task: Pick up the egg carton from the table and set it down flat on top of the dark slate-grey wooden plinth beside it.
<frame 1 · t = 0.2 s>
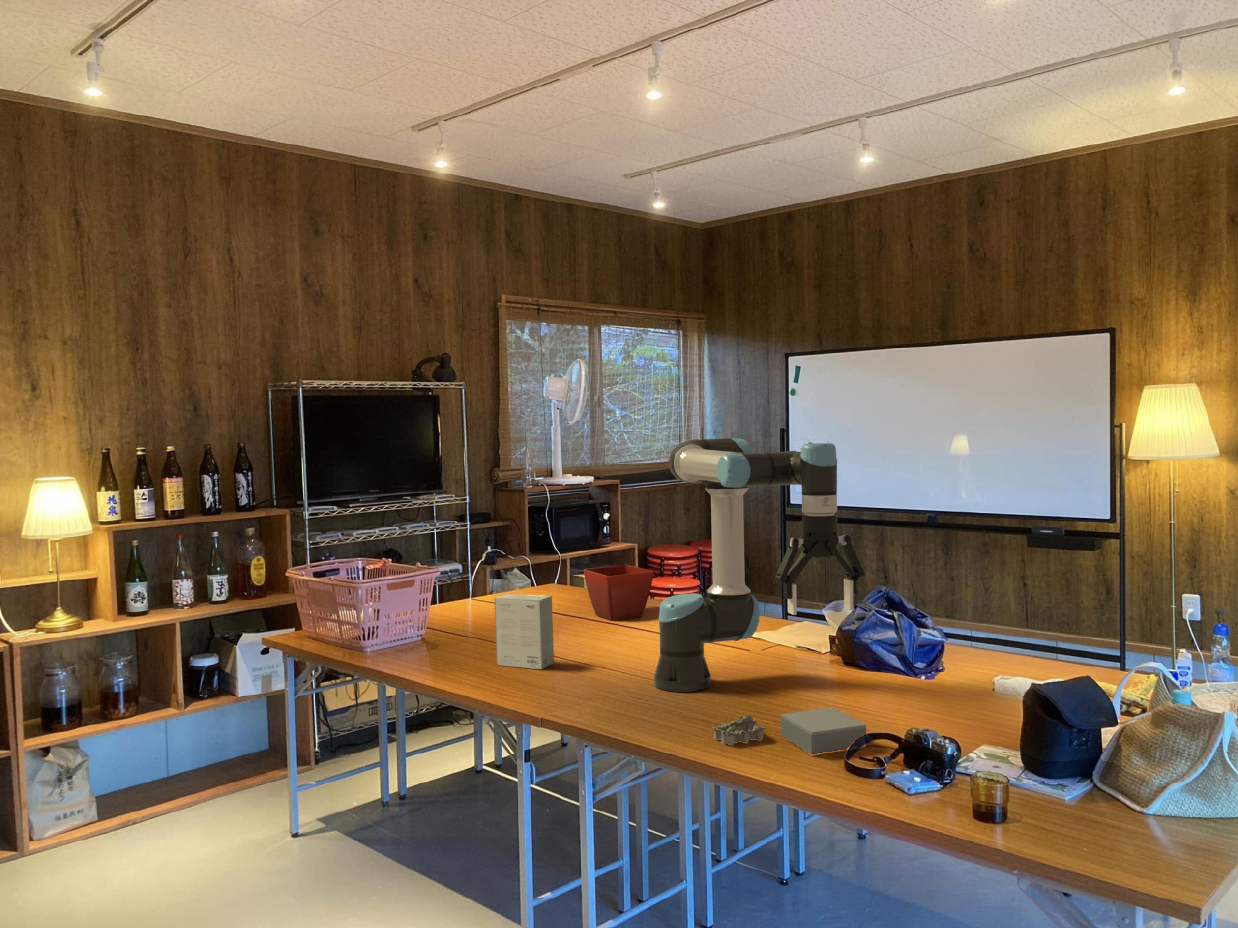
hand: (820, 611, 204), 27 cm above the table, tool pointing down, fingers open, 13 cm apart
plant pot: (619, 616, 338), on the table
plinth: (822, 742, 200), on the table
hard drive box: (525, 665, 271), on the table
egg carton: (739, 740, 204), on the table
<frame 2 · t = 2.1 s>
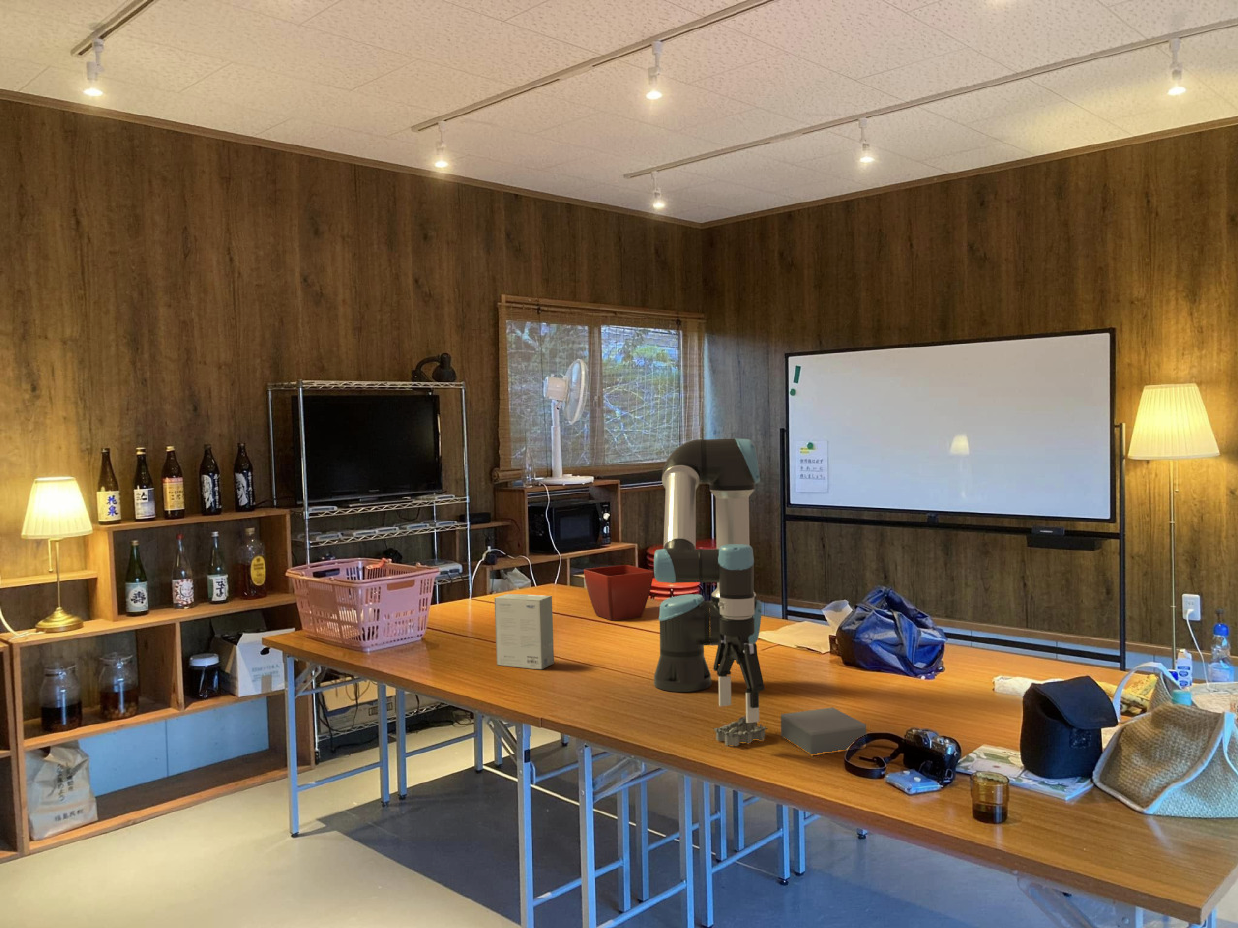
hand: (738, 713, 203), 6 cm above the table, tool pointing down, fingers open, 13 cm apart
nothing on the table moved.
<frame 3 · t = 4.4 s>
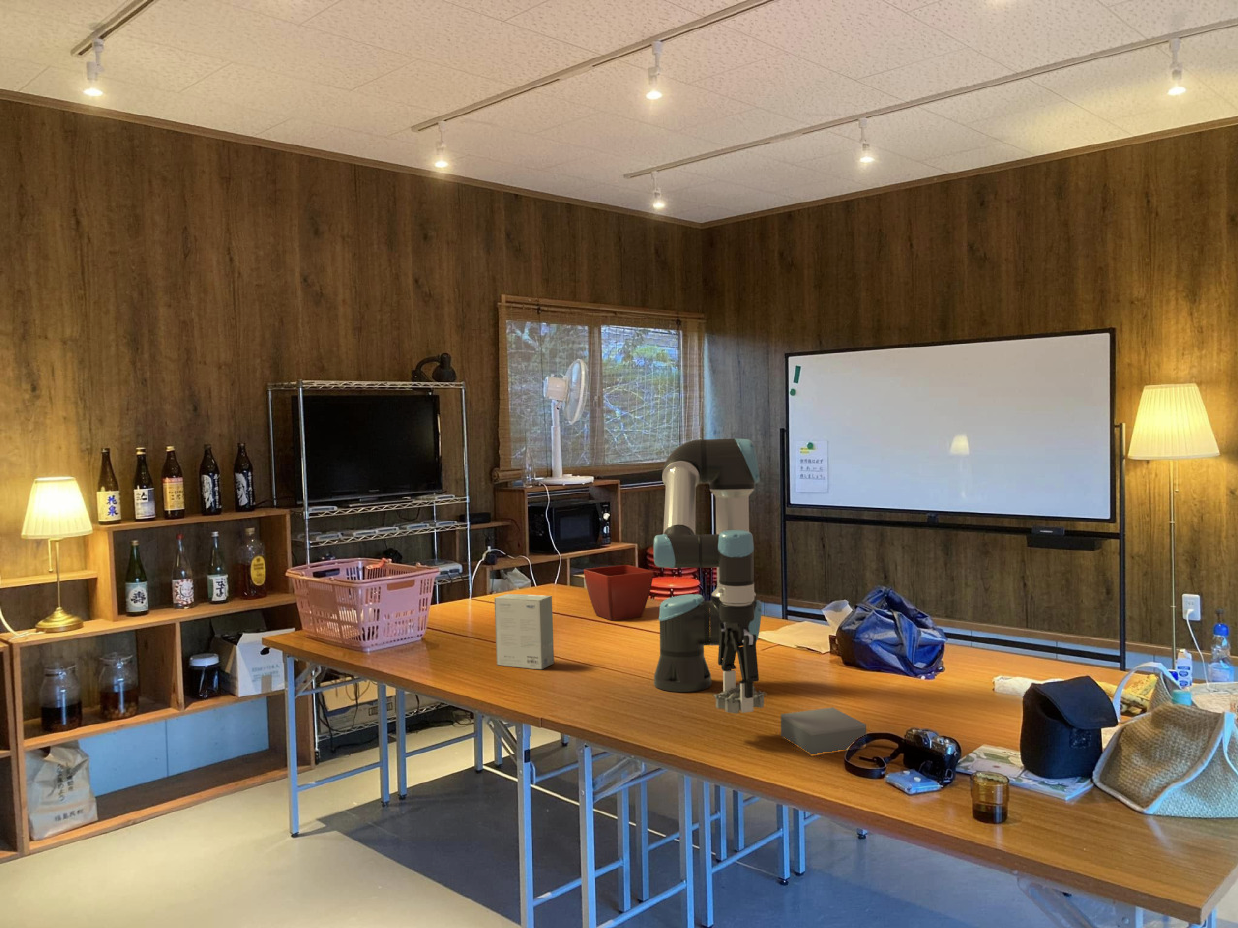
hand: (738, 705, 204), 7 cm above the table, tool pointing down, fingers closed on egg carton, 8 cm apart
egg carton: (740, 707, 204), point 7 cm above the table, touching gripper
everything else where it was.
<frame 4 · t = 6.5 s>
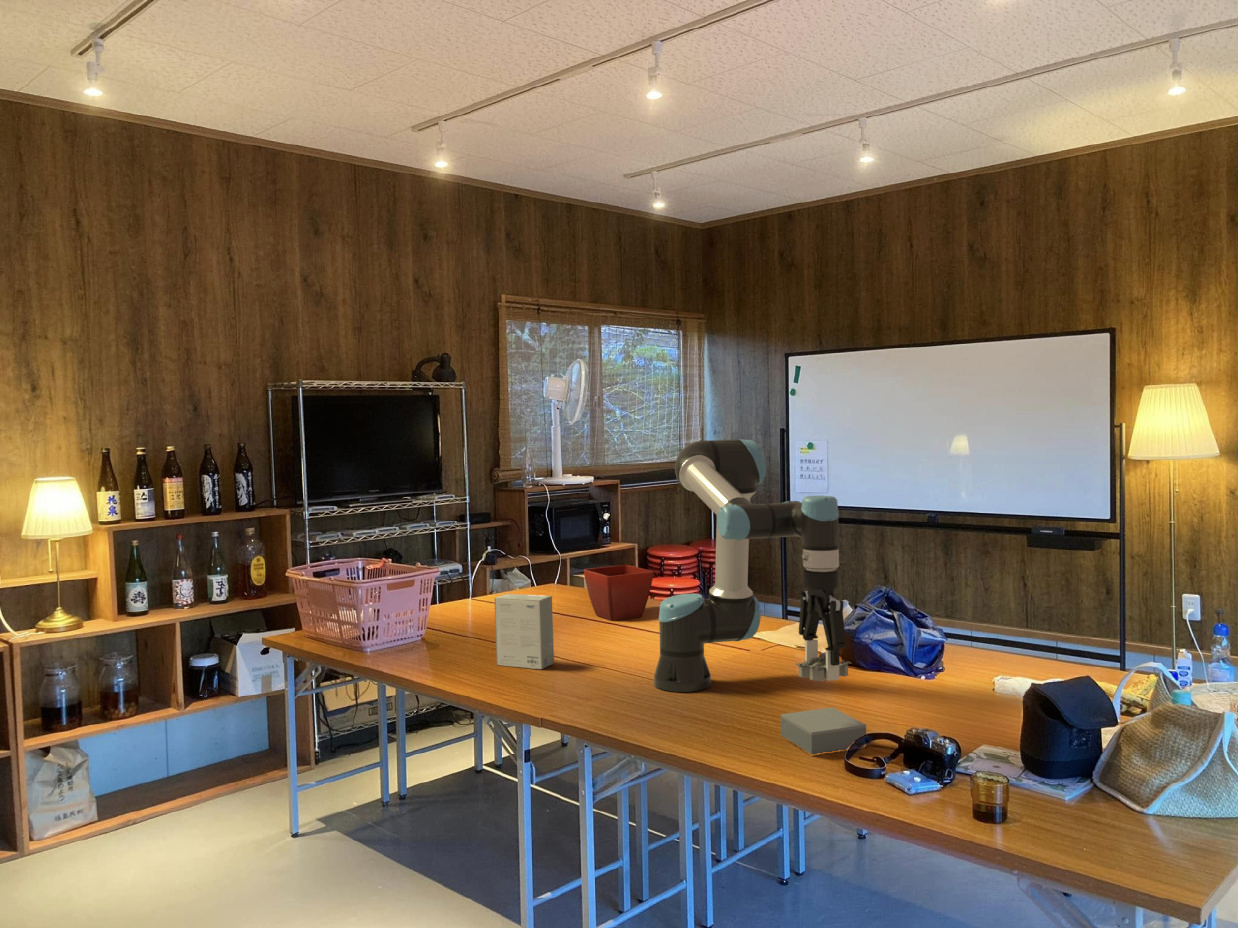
hand: (822, 674, 200), 15 cm above the table, tool pointing down, fingers closed on egg carton, 8 cm apart
egg carton: (824, 676, 200), point 14 cm above the table, touching gripper
everything else where it was.
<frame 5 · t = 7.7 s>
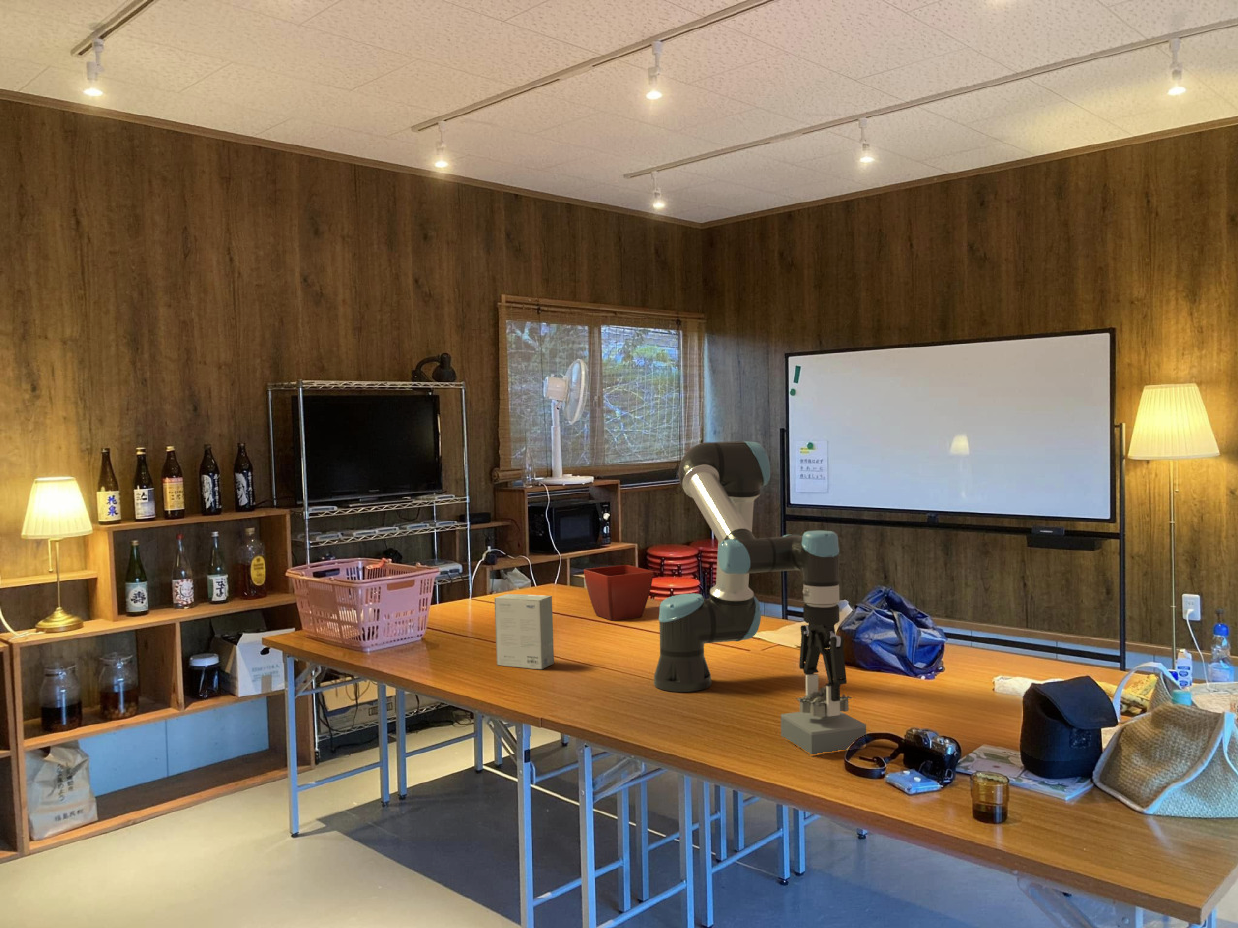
hand: (822, 709, 200), 7 cm above the table, tool pointing down, fingers closed on egg carton, 8 cm apart
egg carton: (824, 711, 200), point 7 cm above the table, touching gripper
everything else where it was.
when the fingers open (6 cm above the table, at t = 8.7 s): egg carton stays where it is, resting on plinth.
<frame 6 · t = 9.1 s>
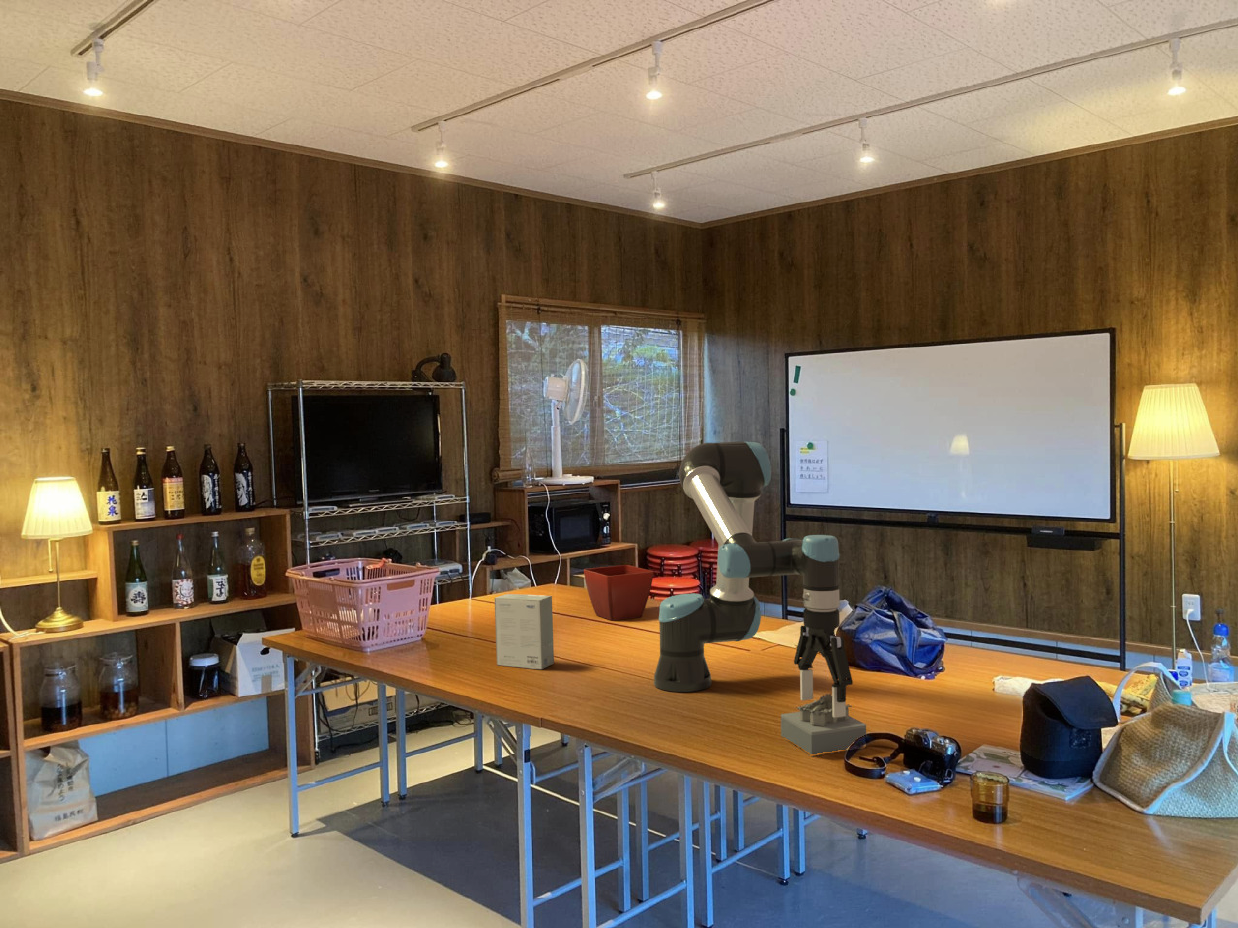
hand: (822, 707, 200), 8 cm above the table, tool pointing down, fingers open, 12 cm apart
egg carton: (824, 719, 200), point 5 cm above the table, touching plinth
everything else where it was.
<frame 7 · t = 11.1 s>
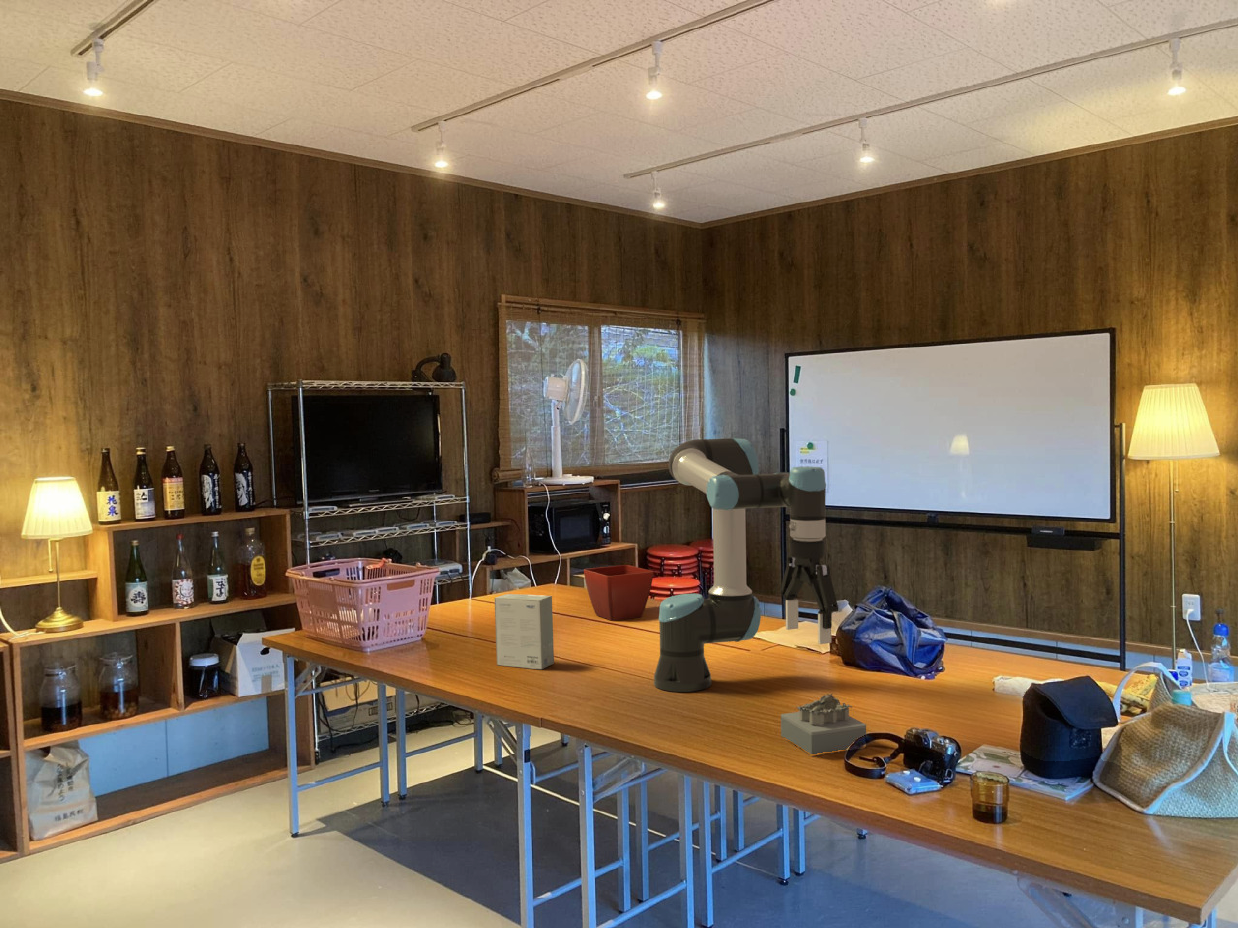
hand: (807, 635, 203), 22 cm above the table, tool pointing down, fingers open, 13 cm apart
nothing on the table moved.
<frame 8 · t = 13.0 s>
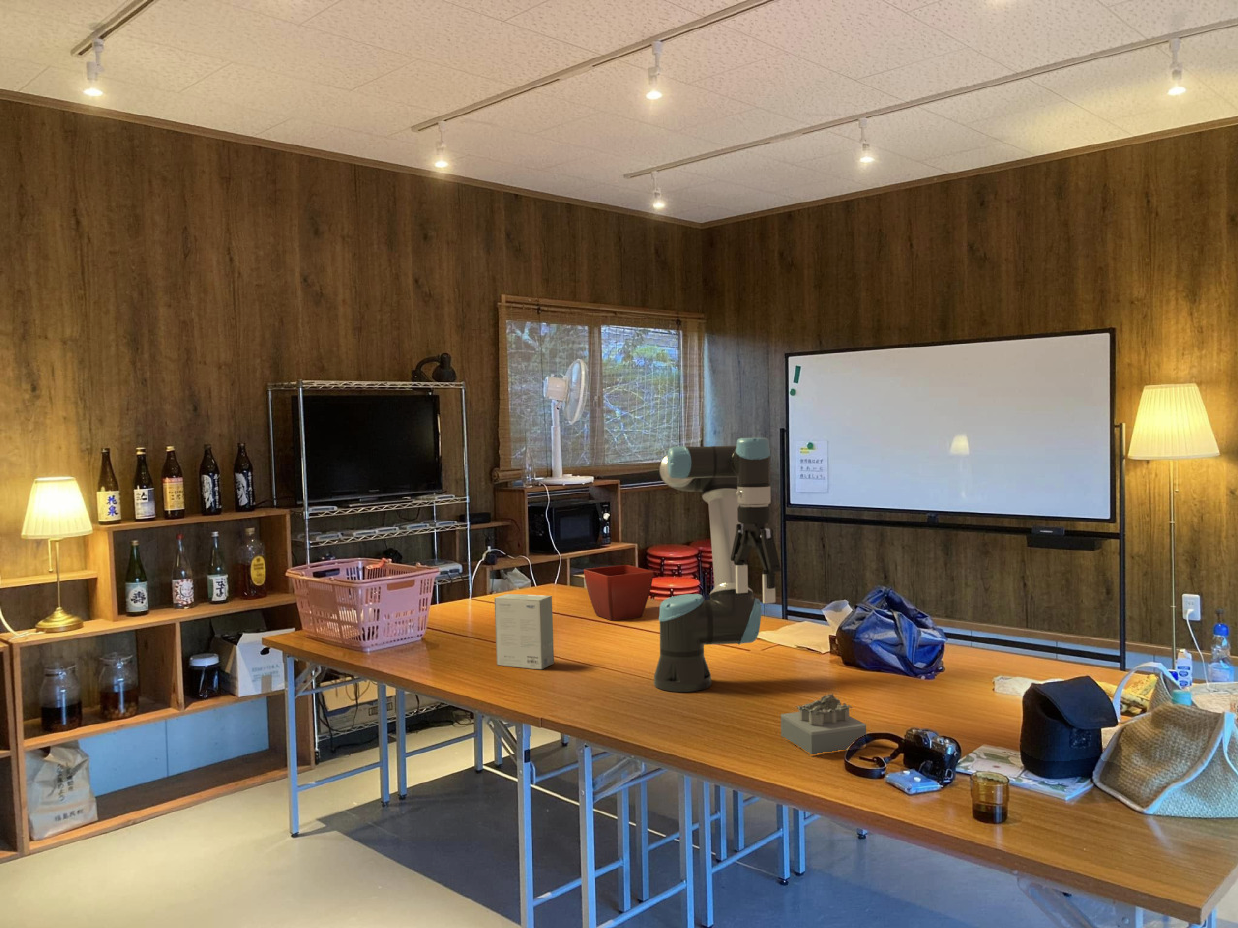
hand: (755, 597, 214), 29 cm above the table, tool pointing down, fingers open, 13 cm apart
nothing on the table moved.
at the end: egg carton 0.5 cm off-centre on the plinth, point 4.8 cm above the plinth's base; egg carton tilted 2°; the gripper is holding nothing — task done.
